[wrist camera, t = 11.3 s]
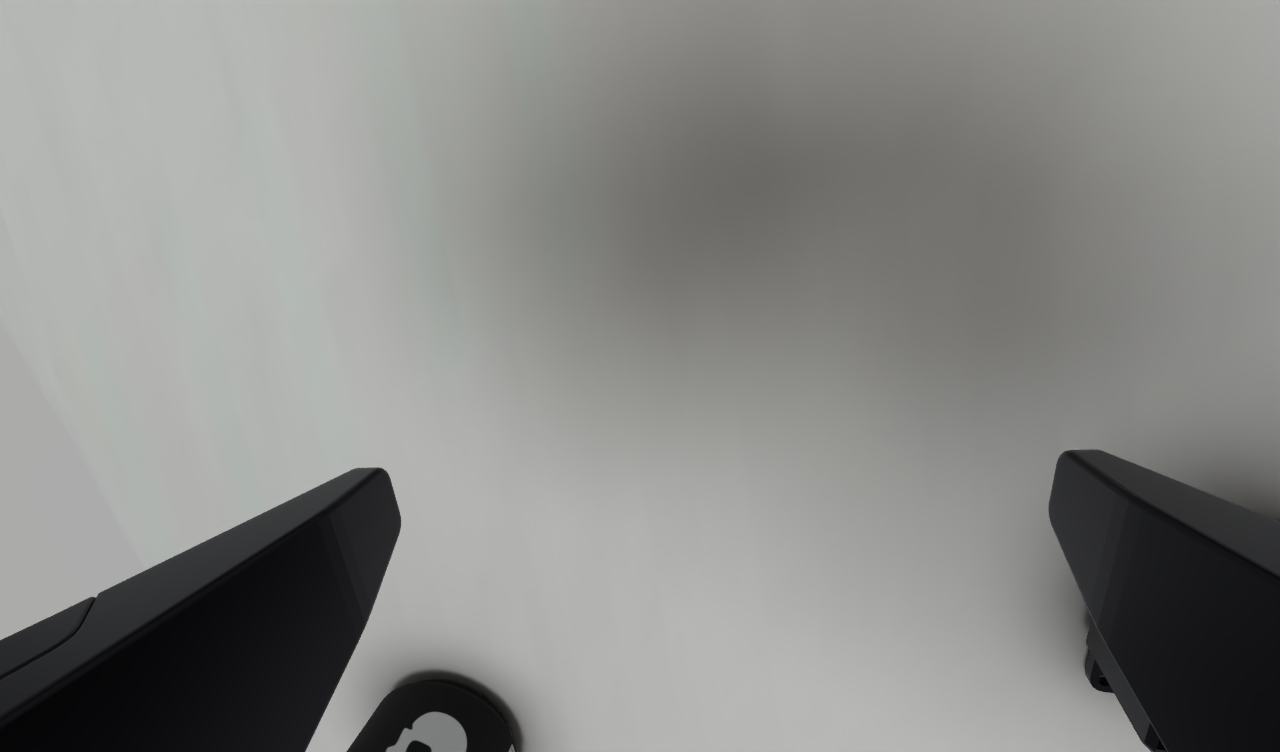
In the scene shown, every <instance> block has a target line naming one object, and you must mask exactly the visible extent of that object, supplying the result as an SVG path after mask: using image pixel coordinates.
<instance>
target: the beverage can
mask: <svg viewBox="0 0 1280 752" xmlns="http://www.w3.org/2000/svg"><path fill="white" fill-rule="evenodd" d="M347 752H517V749H516V745H515V742H514V739H513V737H512V734H511V731H510V728H509V726H508V723H507V721H506V720H505V718H504V717H503V715H502V713H501V712H500V711H499V710H498V709H497V707H496V706H495V705H494V704H492V703H491V702H490V701H489V700H488V699H487V698H486V697H484V696H483V695H481V694H480V693H478V692H477V691H475V690H473V689H471V688H469V687H467V686H464V685H462V684H459V683H456V682H452V681H446V680H426V681H421V682H418V683H413V684H408V685H405V686H402V687H399V688H398V689H396V690H394V691H392V692H391V693H390V694H388V695H387V696H386V697H385V698H384V699H383V700H382V702H381V703H380V704H379V706H378V707H377V709H376V710H375V712H374V713H373V715H372V716H371V717H370V719H369V720H368V722H367V723H366V725H365V726H364V728H363V729H362V730H361V732H360V733H359V735H358V736H357V738H356V739H355V741H354V742H353V743H352V745H351V746H350V748H349V749H348V751H347Z"/></svg>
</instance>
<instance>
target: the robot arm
mask: <svg viewBox="0 0 1280 752" xmlns="http://www.w3.org/2000/svg"><path fill="white" fill-rule="evenodd" d="M1049 517H1050V522H1051V525H1052V527H1053V529H1054V532H1055V534H1056V536H1057V539H1058V541H1059V543H1060V546H1061V548H1062V550H1063V553H1064V555H1065V557H1066V560H1067V562H1068V564H1069V567H1070V569H1071V571H1072V573H1073V576H1074V578H1075V580H1076V583H1077V585H1078V587H1079V590H1080V592H1081V594H1082V597H1083V599H1084V601H1085V604H1086V606H1087V608H1088V611H1089V613H1090V615H1091V617H1092V619H1091V623H1090V627H1089V631H1088V635H1087V639H1086V644H1087V646H1088V648H1089V649H1090V651H1089V655H1088V659H1087V663H1086V667H1085V674H1086V676H1087V678H1088V680H1089V681H1090V683H1091V685H1092V686H1093V687H1094V688H1095V689H1097V690H1099V691H1103V692H1110V693H1114V694H1115V695H1116V697H1117V699H1118V701H1119V702H1120V704H1121V706H1122V708H1123V709H1124V711H1125V713H1126V715H1127V717H1128V718H1129V720H1130V722H1131V724H1132V725H1133V727H1134V729H1135V731H1136V732H1137V734H1138V736H1139V738H1140V740H1141V741H1142V743H1143V744H1144V745H1145V746H1146V747H1147V748H1148V749H1149V750H1150V751H1151V752H1280V522H1279V521H1276V520H1274V519H1271V518H1269V517H1266V516H1264V515H1261V514H1259V513H1256V512H1254V511H1251V510H1249V509H1246V508H1244V507H1241V506H1239V505H1236V504H1234V503H1231V502H1229V501H1226V500H1224V499H1221V498H1219V497H1216V496H1214V495H1211V494H1209V493H1206V492H1204V491H1201V490H1199V489H1196V488H1194V487H1191V486H1189V485H1186V484H1184V483H1181V482H1179V481H1176V480H1174V479H1171V478H1169V477H1166V476H1164V475H1161V474H1159V473H1156V472H1154V471H1151V470H1149V469H1146V468H1144V467H1141V466H1139V465H1136V464H1134V463H1131V462H1129V461H1126V460H1124V459H1121V458H1119V457H1116V456H1114V455H1111V454H1109V453H1106V452H1104V451H1101V450H1068V451H1065V452H1063V453H1062V454H1061V455H1060V457H1059V458H1058V461H1057V465H1056V470H1055V475H1054V481H1053V486H1052V491H1051V496H1050V501H1049ZM400 528H401V516H400V512H399V508H398V504H397V501H396V497H395V494H394V490H393V487H392V483H391V480H390V477H389V474H388V473H387V471H385V470H384V469H382V468H356V469H353V470H351V471H349V472H347V473H344V474H342V475H340V476H338V477H336V478H334V479H332V480H330V481H328V482H326V483H324V484H322V485H320V486H318V487H316V488H314V489H312V490H310V491H308V492H306V493H303V494H301V495H299V496H297V497H295V498H293V499H291V500H289V501H287V502H285V503H283V504H281V505H279V506H277V507H275V508H273V509H271V510H269V511H267V512H264V513H262V514H260V515H258V516H256V517H254V518H252V519H250V520H248V521H246V522H244V523H242V524H240V525H238V526H236V527H234V528H232V529H230V530H228V531H225V532H223V533H221V534H219V535H217V536H215V537H213V538H211V539H209V540H207V541H205V542H203V543H201V544H199V545H197V546H195V547H193V548H191V549H189V550H187V551H184V552H182V553H180V554H178V555H176V556H174V557H172V558H170V559H168V560H166V561H164V562H162V563H160V564H158V565H156V566H154V567H152V568H150V569H148V570H145V571H143V572H141V573H139V574H137V575H135V576H133V577H131V578H129V579H127V580H125V581H123V582H121V583H119V584H117V585H115V586H113V587H111V588H109V589H107V590H104V591H103V592H100V593H99V594H98V596H97V597H96V598H95V597H90V598H88V599H86V600H84V601H82V602H80V603H78V604H76V605H74V606H71V607H69V608H68V609H65V610H63V611H61V612H59V613H57V614H55V615H53V616H51V617H49V618H46V619H44V620H42V621H40V622H38V623H36V624H34V625H32V626H30V627H27V628H25V629H23V630H21V631H19V632H17V633H15V634H13V635H11V636H8V637H6V638H4V639H2V640H0V752H305V751H306V749H307V747H308V745H309V743H310V741H311V739H312V737H313V734H314V732H315V730H316V728H317V726H318V724H319V722H320V720H321V718H322V716H323V714H324V712H325V710H326V708H327V706H328V703H329V701H330V699H331V697H332V695H333V693H334V691H335V689H336V687H337V685H338V683H339V681H340V679H341V677H342V675H343V673H344V670H345V668H346V666H347V664H348V662H349V660H350V658H351V656H352V654H353V652H354V650H355V648H356V646H357V644H358V642H359V639H360V637H361V635H362V633H363V630H364V628H365V626H366V624H367V621H368V619H369V616H370V614H371V611H372V608H373V606H374V603H375V600H376V597H377V595H378V592H379V589H380V586H381V583H382V581H383V578H384V575H385V572H386V569H387V567H388V564H389V561H390V558H391V555H392V553H393V550H394V547H395V544H396V541H397V539H398V536H399V533H400ZM1103 674H1104V676H1105V677H1100V676H1101V675H1103Z"/></svg>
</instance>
